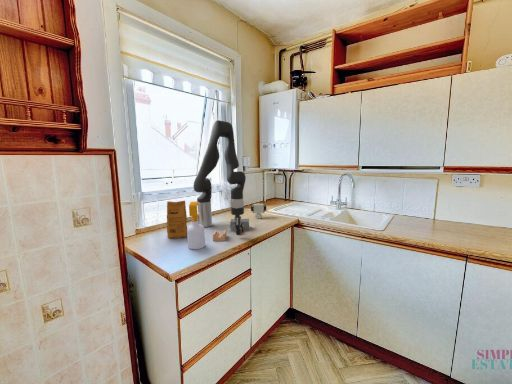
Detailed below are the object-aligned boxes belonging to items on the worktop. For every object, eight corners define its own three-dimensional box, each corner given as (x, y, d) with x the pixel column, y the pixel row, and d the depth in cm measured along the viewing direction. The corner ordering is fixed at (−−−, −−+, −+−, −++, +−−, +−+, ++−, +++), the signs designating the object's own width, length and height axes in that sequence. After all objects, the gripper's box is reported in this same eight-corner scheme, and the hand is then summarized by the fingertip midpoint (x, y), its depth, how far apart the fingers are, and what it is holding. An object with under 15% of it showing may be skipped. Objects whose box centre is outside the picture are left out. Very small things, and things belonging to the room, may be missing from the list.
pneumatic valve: (266, 218, 177) (266, 203, 175) (251, 219, 177) (250, 203, 175) (266, 216, 183) (265, 201, 181) (251, 217, 183) (250, 202, 181)
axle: (242, 234, 143) (240, 229, 143) (236, 235, 143) (235, 230, 143) (243, 226, 159) (241, 221, 159) (238, 227, 159) (236, 222, 159)
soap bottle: (206, 242, 131) (204, 200, 127) (203, 249, 122) (200, 203, 118) (190, 243, 131) (187, 200, 127) (186, 250, 122) (182, 204, 118)
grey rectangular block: (249, 230, 151) (248, 221, 150) (230, 230, 151) (230, 222, 150) (249, 227, 158) (248, 218, 157) (231, 227, 158) (231, 219, 157)
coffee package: (170, 233, 149) (167, 199, 145) (189, 232, 149) (187, 199, 146) (165, 239, 139) (162, 203, 135) (186, 238, 140) (183, 202, 136)
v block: (225, 240, 134) (224, 233, 133) (212, 240, 134) (212, 234, 133) (226, 236, 141) (226, 230, 140) (214, 236, 141) (214, 230, 140)
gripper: (231, 203, 142) (233, 231, 144) (229, 208, 129) (231, 238, 131) (244, 203, 142) (245, 230, 144) (243, 208, 129) (244, 238, 131)
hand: (238, 234), depth 138 cm, fingers closed
